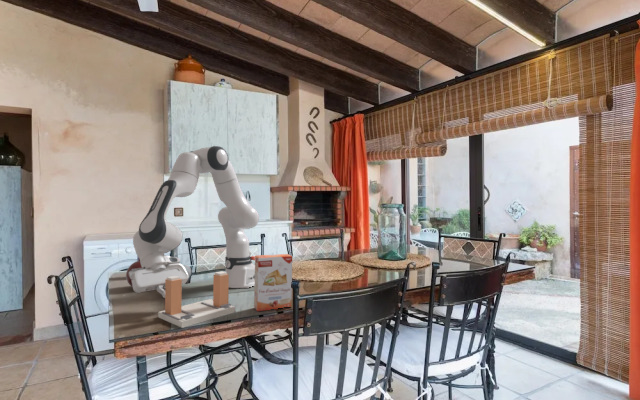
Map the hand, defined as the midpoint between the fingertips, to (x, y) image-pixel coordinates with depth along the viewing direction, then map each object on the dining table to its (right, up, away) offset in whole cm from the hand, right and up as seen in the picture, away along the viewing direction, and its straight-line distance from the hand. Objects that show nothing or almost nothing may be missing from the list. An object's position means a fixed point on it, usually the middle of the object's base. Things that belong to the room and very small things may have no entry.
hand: (168, 296), depth 133 cm
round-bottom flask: (-29, -7, +39) cm, 49 cm away
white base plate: (+10, -8, +2) cm, 13 cm away
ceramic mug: (-18, -7, +58) cm, 61 cm away
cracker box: (+37, -8, +12) cm, 39 cm away
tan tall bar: (+17, -5, +7) cm, 19 cm away
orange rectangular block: (+3, -5, -2) cm, 6 cm away
